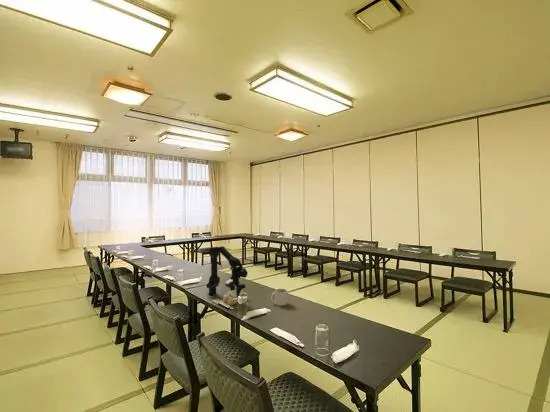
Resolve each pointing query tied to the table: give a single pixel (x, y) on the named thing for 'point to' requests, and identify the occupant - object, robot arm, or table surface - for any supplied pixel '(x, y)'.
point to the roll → (234, 293)
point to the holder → (231, 299)
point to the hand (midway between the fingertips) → (235, 295)
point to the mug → (280, 297)
